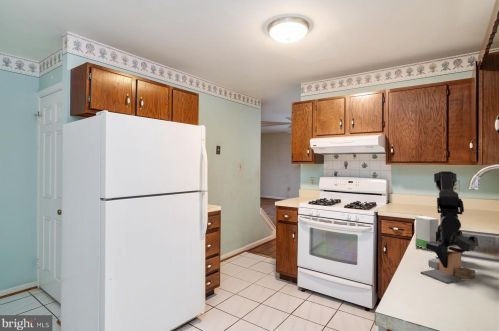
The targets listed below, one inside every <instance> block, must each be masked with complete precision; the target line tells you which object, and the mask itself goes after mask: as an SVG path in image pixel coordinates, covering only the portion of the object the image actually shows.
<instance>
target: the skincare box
mask: <svg viewBox="0 0 499 331" xmlns="http://www.w3.org/2000/svg"><path fill="white" fill-rule="evenodd" d="M415 219H416V222H415V221H414V244H415V245H417V246H419V247H418V248H420V247H422V248H421V249H424V248H426V243H427V242H431V241H436V231H437V228H438V226H439V225H440V224H439V222H440V221H439V220H440V219H439V218H435V217H432V216H426V215H419V216H415ZM415 245H414V246H415ZM417 246H416V247H417Z"/></svg>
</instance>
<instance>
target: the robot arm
mask: <svg viewBox="0 0 499 331" xmlns="http://www.w3.org/2000/svg"><path fill="white" fill-rule="evenodd" d="M457 180H458V179H457V173H456V172H453V171H450V170H449V171H447V170H446V171H445V170H444V171H443V170H442V171H438V172H437V173H433V182H434V183H435V187H436V189H437V190H438V197H436V208H437V214H440V215H439V216H440V219H439V220H440V221H439V222H440V224H438V228H437V231H436V241H431V242H427V243H426V249H425V250H427V249H428V250H427V251H433V252H434V253H435V254H436V255H435V256H438V258H437V259H440V261H441V263H442V265H443V267H444V268H447V266H448V255H449V254H451V253H452V252H449V250H453V251H456V252H460V253H461V256H462V255H463V253H465V252H467V253H468V252H471V251H474V250H475V248H476V247H479V240H478V237H477V236H474V235H470V236H469V237H468V236H465V235H464V234H463V232H462V230H461V228H462V223H461V220H460V219H459V215H463V213H464V212H465V210H464V209H465V208H464V207H465V206H464V201H462V198H460V197H459V193H458V192H457V191H455V189H454V188H455V184H456V183H457V182H458V181H457Z"/></svg>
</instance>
